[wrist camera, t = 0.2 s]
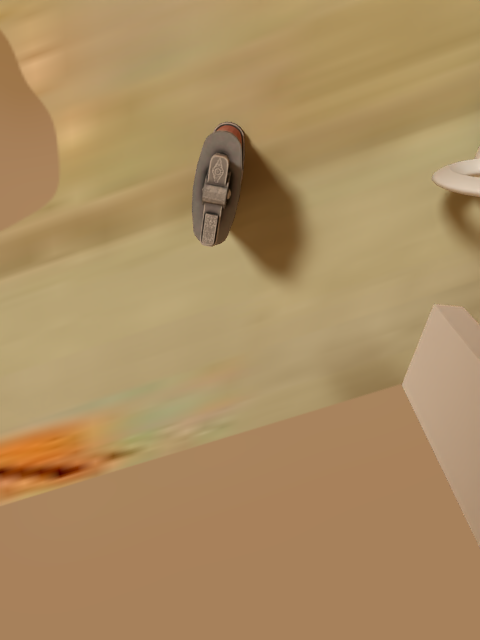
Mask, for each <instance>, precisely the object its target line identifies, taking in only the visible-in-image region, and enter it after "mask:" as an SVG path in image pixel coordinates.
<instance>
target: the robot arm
mask: <svg viewBox="0 0 480 640" xmlns="http://www.w3.org/2000/svg"><path fill="white" fill-rule="evenodd" d="M402 387H403V389H404V391H405V393H406V395H407V397H408V399H409V401H410V403H411V406H412V408H413V410H414V412H415V414H416V416H417V418H418V420H419V422H420V424H421V426H422V429H423V431H424V433H425V435H426V437H427V439H428V441H429V443H430V445H431V447H432V449H433V451H434V453H435V456H436V458H437V460H438V462H439V464H440V466H441V468H442V470H443V472H444V474H445V476H446V479H447V481H448V482H449V485H450V487H451V489H452V491H453V493H454V495H455V497H456V499H457V502H458V504H459V505H460V508H461V510H462V512H463V514H464V516H465V518H466V520H467V522H468V524H469V527H470V529H471V530H472V533H473V535H474V537H475V539H476V541H477V543H478V545H479V547H480V325H479V324H478V323H477V321H476V320H475V319H474V318H473V317H472V316H471V315H470V314H469V313H468V312H467V311H466V310H465V308H464V307H460V306H450V305H440V304H434V305H433V308H432V310H431V313H430V315H429V318H428V320H427V323H426V325H425V328H424V330H423V333H422V335H421V338H420V340H419V343H418V345H417V348H416V350H415V353H414V355H413V358H412V360H411V363H410V365H409V368H408V370H407V373H406V375H405V378H404V380H403V383H402Z"/></svg>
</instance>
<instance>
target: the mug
mask: <svg viewBox="0 0 480 640" xmlns="http://www.w3.org/2000/svg"><path fill="white" fill-rule="evenodd" d="M472 176H473V177H472ZM432 181H433V182H434V183H435V184H436V185H438V186H439V187H441V188H444V189H446V190H449V191H452V192H456V193H460V194H464V195H469V196H476V197H480V146H479V148H478V150H477V152H476V155H475V158H474V159H470V160H465V161H460V162H456V163H453V164H450V165H446V166H444V167H442V168H440V169H439V170H437V171H436V172H434V173H433V175H432Z"/></svg>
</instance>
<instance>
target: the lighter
mask: <svg viewBox="0 0 480 640" xmlns="http://www.w3.org/2000/svg"><path fill="white" fill-rule="evenodd" d="M244 158H245V141H244V132H243V131H242V129H241V127H239V126H238V125H237V124H235V123H232V122H224V123H221V124H219V125H218V126H217V127H216V128H215V130H214V132H213V133H212V134H210V135H209V136H208V137H207V138H206V140H205V142H204V145H203V148H202V151H201V154H200V158H199V161H198V164H197V169H196V174H195V180H194V185H193V199H192V216H193V229H194V234H195V236H196V237H197V239H198V240H199V241H200V242H201V244H202V245H205V246H210V247H212V246H214V245H217V244H220V243H222V242H223V241H225V239H226V238H227V236H228V233H229V231H230V228H231V225H232V223H233V220H234V217H235V213H236V209H237V205H238V201H239V197H240V188H241V181H242V177H243V167H244Z"/></svg>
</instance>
